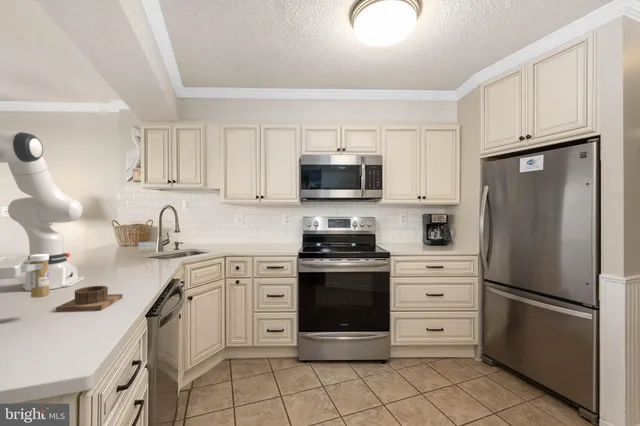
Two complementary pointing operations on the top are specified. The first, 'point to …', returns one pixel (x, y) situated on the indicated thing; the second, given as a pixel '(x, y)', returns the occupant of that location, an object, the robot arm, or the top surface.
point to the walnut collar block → (90, 299)
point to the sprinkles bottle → (39, 276)
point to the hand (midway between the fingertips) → (43, 264)
